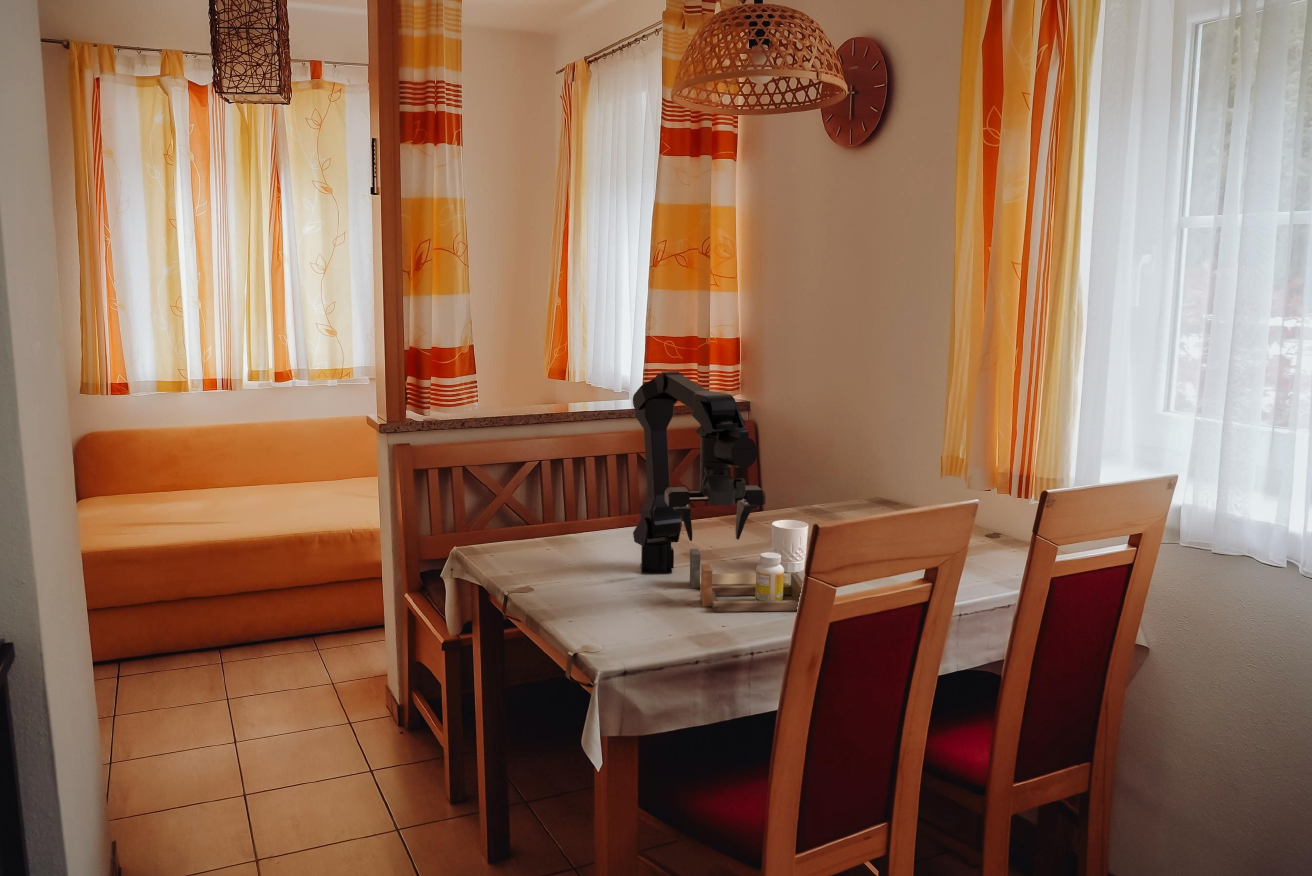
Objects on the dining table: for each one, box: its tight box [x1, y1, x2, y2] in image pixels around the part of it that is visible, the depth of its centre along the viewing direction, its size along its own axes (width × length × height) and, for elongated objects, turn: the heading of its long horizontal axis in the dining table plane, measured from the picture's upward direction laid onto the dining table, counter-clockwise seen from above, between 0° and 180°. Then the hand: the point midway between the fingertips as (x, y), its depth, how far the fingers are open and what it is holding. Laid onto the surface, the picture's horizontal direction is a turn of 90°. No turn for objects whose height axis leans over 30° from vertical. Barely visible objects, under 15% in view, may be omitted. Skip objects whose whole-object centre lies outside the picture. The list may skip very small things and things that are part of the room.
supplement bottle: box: [754, 551, 785, 601], centre depth 189 cm, size 5×5×10 cm
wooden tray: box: [700, 563, 804, 613], centre depth 189 cm, size 20×11×7 cm, turn 94°
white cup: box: [771, 519, 809, 574], centre depth 213 cm, size 8×8×10 cm
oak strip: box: [689, 548, 790, 591], centre depth 201 cm, size 20×7×7 cm, turn 94°
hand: (714, 539), depth 189 cm, fingers open, 9 cm apart
